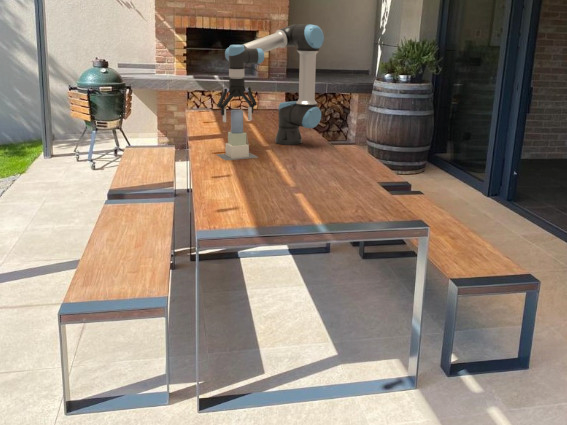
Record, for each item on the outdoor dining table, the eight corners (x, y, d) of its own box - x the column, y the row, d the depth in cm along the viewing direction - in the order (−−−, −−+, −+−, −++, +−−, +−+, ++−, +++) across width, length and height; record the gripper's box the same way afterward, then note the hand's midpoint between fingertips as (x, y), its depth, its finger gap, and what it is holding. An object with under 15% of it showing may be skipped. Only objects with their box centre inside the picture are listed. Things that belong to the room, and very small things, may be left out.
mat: (248, 153, 336) (248, 151, 335) (259, 159, 324) (258, 157, 323) (215, 156, 328) (215, 154, 328) (225, 162, 316) (225, 160, 316)
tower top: (240, 142, 328) (240, 130, 326) (246, 145, 322) (246, 133, 320) (228, 143, 325) (227, 131, 323) (233, 146, 319) (233, 134, 317)
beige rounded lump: (254, 138, 339) (236, 130, 338) (246, 155, 343) (229, 147, 341) (255, 134, 348) (238, 126, 347) (247, 150, 352) (231, 142, 350)
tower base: (242, 153, 331) (242, 142, 329) (248, 157, 324) (248, 145, 322) (225, 154, 328) (225, 143, 326) (232, 158, 320) (231, 146, 318)
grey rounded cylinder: (240, 131, 326) (240, 109, 322) (244, 133, 321) (244, 111, 317) (229, 131, 323) (229, 109, 320) (233, 133, 318) (233, 111, 315)
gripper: (257, 75, 322) (257, 118, 329) (209, 77, 312) (211, 121, 318) (263, 77, 316) (263, 120, 322) (215, 79, 305) (216, 123, 312)
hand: (237, 121), depth 320 cm, fingers open, 13 cm apart
